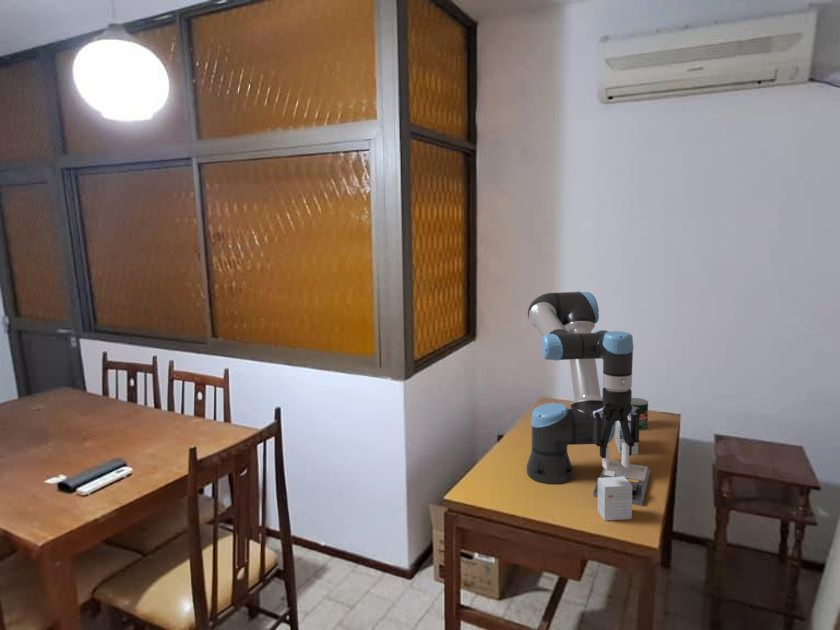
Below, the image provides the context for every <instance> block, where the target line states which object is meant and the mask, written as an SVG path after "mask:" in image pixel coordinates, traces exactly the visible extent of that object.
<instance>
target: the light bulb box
mask: <svg viewBox="0 0 840 630" xmlns="http://www.w3.org/2000/svg"><path fill="white" fill-rule="evenodd" d="M627 418H628V422H629V423H628V425H629V429H630V433H631V417H629V416H627ZM614 438H615V439H614V443H615V446H616V449H617V451H618V454H619V455H622V443H625V440H624V436H623V432H622V428H621V424H620V421H616V422H615V432H614ZM631 455H634V456H636V455H637V456H638V455H639V442H638V443H634V446H633V447H632V454H631Z"/></svg>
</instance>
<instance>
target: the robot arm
mask: <svg viewBox="0 0 840 630" xmlns="http://www.w3.org/2000/svg"><path fill="white" fill-rule="evenodd" d="M599 309H600V308H599V305H598V302H597V299H596V297H595V295H594V294H593V293H591V292H589V291H579V290H578V291H570V292H569V291H567V292H547V293H543V294H541V295H539V296H537V297H536V298H534V299H533V300H532V302H531V303H530V304H529V305H528V308H527V317H528V320H529V322H530V324H531V325H532V326H533V327H535V328H537V330H538V332H539V334H540V336H541V340H540V341H541V343H540V344H541V346H540V348H541V353H542V357H543V359H544V360H547V361H565V360H567V361H568V360H569V365H570V366H569V367H570V375H571V381H572V389H573V396H574V399H573V400H572V402H571V403H570V408H568V406H567V405H565V404H564V403H558V402H549V403H544V404H541V405H538V406H537V407H535V408H534V409H533V410H532V413H531V419H530V426H531V451H530V454H529V456H528V461H527V463H526V475H527V474H528V475H527V476H528V477H529V478H530V479H532V480H534V481H536V482H538V483H543V484H552V485H554V484H555V485H556V484H562V483H563V484H564V483H566V482H568V481H570V480H571V479H572V478H573V476H574V475H573V473H574V470H573V465H572V462H571V459H570V455H569V454H568V446H572V445H573V446H574V445H595V446H597V447H599V456H600V457H601V460H602V462H601V463H602V464H601V465H602V466H601V467H603V468H605V469H606V470H609V460H610V451H611V450H610V447H609V446H608V444H609V443H611V442H612V440H613V438H614V437H615V422H616V421H620V424H621V428H622V432H623V436H624V440H625V443H622V454H621V461H620V462H621V464H622V465H623V466H624V467H625V468H629V464H630V456H632V455H633V454H632V447H633V446H634V443H638V444H639V442H640V431H639V417H640V414H641V409H639V408H638V407H636V406H634V407H632V405H631V398H633V397H632V395H633V394H632V393H633V392H632V386H633V385H632V383H633V359H634V358H633V356H634V355H633V353H634V341H633V340H634V338H633V335H632V334H631V333H630V332H625V331H622V330H614V331H613V330H612V331H608V330H605V329H599V330H596V331H594V332H592V331H593V330H594V329H595V327H596V324H597V323H598V322H599V317H600V313H599V311H600V310H599ZM597 359H599V360H601V359H602V387H603V388H602V396H601V388H600V382H599V374H598V369H597ZM630 412H631V433H630V429H629V425H628V423H629V422H628V418H627V416H628V414H629V413H630Z"/></svg>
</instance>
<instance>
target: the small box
mask: <svg viewBox="0 0 840 630" xmlns="http://www.w3.org/2000/svg"><path fill="white" fill-rule="evenodd" d="M597 482H598V497H597V512H598V513H599V514H600V517H601V518H602V519H603V521H604V522H605V521H608V520H609V521H619V520H631V519H632V517H633V512H632V510H633V508H632V507H633V504H632V485H631V484H630V482H629V481H628V480H627V479H626V478H625V477H624V476H621V477H605V478H599V477H597Z"/></svg>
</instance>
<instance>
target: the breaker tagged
mask: <svg viewBox="0 0 840 630" xmlns="http://www.w3.org/2000/svg"><path fill="white" fill-rule="evenodd" d="M628 481H629V482H630V484H631V485H632V490H635V491H636V490H637V489H638V487H639V481H638V480H633V479H628Z"/></svg>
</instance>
